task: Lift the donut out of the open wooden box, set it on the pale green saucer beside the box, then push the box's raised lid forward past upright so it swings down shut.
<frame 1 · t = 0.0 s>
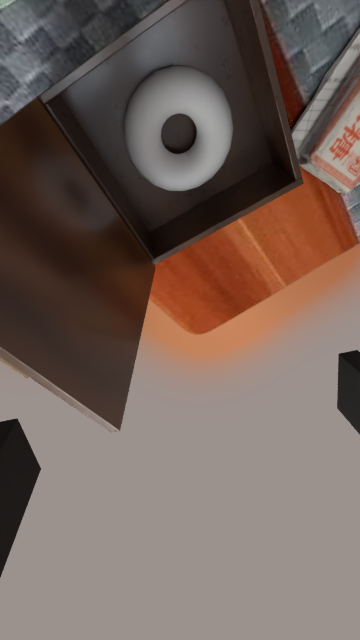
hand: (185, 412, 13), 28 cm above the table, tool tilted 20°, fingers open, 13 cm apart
lid: (50, 271, 23), point 15 cm above the table, hinge at 105.1°
donut: (176, 130, 31), resting on wooden box
wooden box: (175, 129, 31), on the table
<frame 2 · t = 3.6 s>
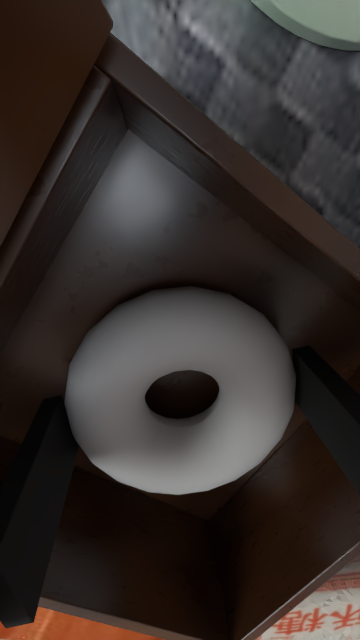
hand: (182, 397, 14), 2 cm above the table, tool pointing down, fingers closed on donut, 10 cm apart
donut: (178, 374, 16), resting on wooden box, touching gripper
wooden box: (178, 370, 16), on the table
packaged product: (339, 546, 23), on the table
when the fingers open (2 cm above the table, at t = 11.0 s): donut stays where it is, resting on saucer.
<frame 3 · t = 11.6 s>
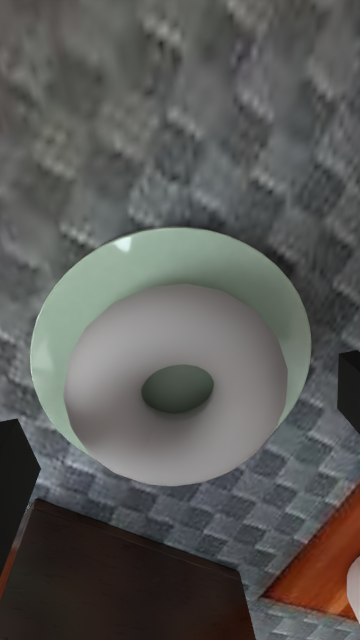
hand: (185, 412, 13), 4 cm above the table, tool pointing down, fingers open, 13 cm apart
saucer: (175, 363, 17), on the table
donut: (174, 369, 16), point 1 cm above the table, touching saucer
wooden box: (89, 604, 24), on the table
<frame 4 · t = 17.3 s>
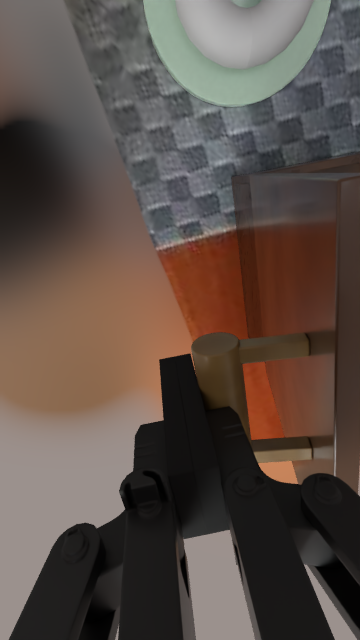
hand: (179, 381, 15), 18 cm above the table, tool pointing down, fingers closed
lid: (248, 338, 18), point 15 cm above the table, hinge at 100.1°, touching gripper
wooden box: (320, 249, 32), on the table
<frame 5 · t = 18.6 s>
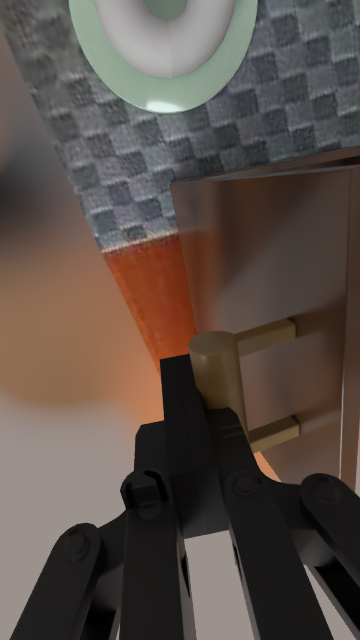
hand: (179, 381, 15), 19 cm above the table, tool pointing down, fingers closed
saucer: (164, 6, 25), on the table
lid: (207, 337, 18), point 16 cm above the table, hinge at 77.0°, touching gripper
donut: (164, 3, 24), point 1 cm above the table, touching saucer
wooden box: (264, 251, 33), on the table
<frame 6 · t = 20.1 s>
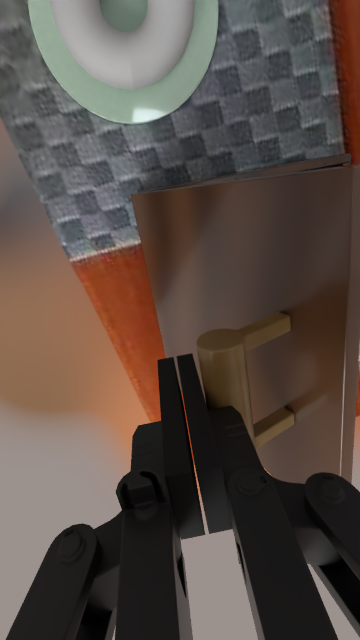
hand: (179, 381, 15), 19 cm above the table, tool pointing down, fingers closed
saucer: (126, 19, 25), on the table
lid: (189, 342, 19), point 16 cm above the table, hinge at 65.6°
donut: (125, 16, 24), point 1 cm above the table, touching saucer
wooden box: (233, 260, 33), on the table
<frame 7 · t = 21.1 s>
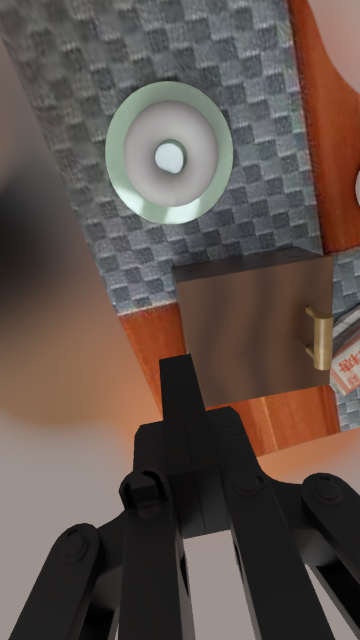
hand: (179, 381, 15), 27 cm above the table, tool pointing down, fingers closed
saucer: (170, 158, 36), on the table
lid: (265, 344, 35), point 9 cm above the table, hinge at -0.1°
donut: (169, 158, 36), point 1 cm above the table, touching saucer
wooden box: (239, 315, 44), on the table
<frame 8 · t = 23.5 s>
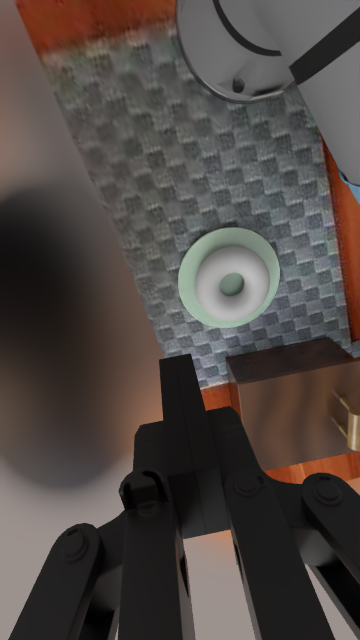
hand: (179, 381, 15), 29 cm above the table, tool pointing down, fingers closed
saucer: (228, 279, 45), on the table
lid: (307, 429, 44), point 9 cm above the table, hinge at -0.1°
donut: (228, 280, 44), point 1 cm above the table, touching saucer
wooden box: (279, 390, 53), on the table
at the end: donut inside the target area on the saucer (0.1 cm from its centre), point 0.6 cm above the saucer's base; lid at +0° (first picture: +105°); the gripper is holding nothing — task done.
